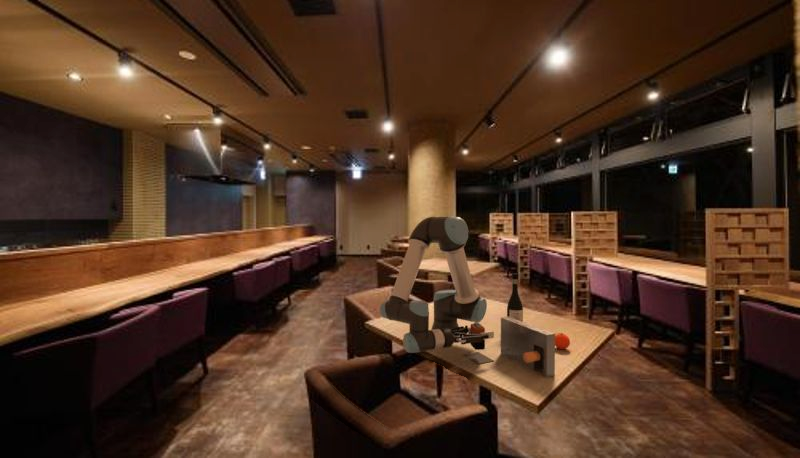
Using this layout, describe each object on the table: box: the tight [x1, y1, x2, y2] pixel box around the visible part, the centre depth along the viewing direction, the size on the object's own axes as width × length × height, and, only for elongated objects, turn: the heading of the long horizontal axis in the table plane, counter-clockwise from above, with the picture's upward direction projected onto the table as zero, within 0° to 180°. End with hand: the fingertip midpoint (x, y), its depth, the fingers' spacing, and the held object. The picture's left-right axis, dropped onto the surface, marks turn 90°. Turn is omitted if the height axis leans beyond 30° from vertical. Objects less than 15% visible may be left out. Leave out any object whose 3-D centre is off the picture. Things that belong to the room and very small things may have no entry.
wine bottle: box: [506, 272, 524, 322], centre depth 192 cm, size 8×8×30 cm
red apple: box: [555, 332, 571, 350], centre depth 165 cm, size 8×7×7 cm
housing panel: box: [500, 316, 556, 379], centre depth 148 cm, size 26×4×16 cm, turn 24°
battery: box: [469, 322, 486, 351], centre depth 154 cm, size 4×7×10 cm, turn 6°
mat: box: [462, 351, 494, 366], centre depth 154 cm, size 11×8×1 cm
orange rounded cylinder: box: [523, 351, 540, 363], centre depth 137 cm, size 4×5×4 cm
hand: (487, 331), depth 156 cm, fingers closed on battery, 7 cm apart
